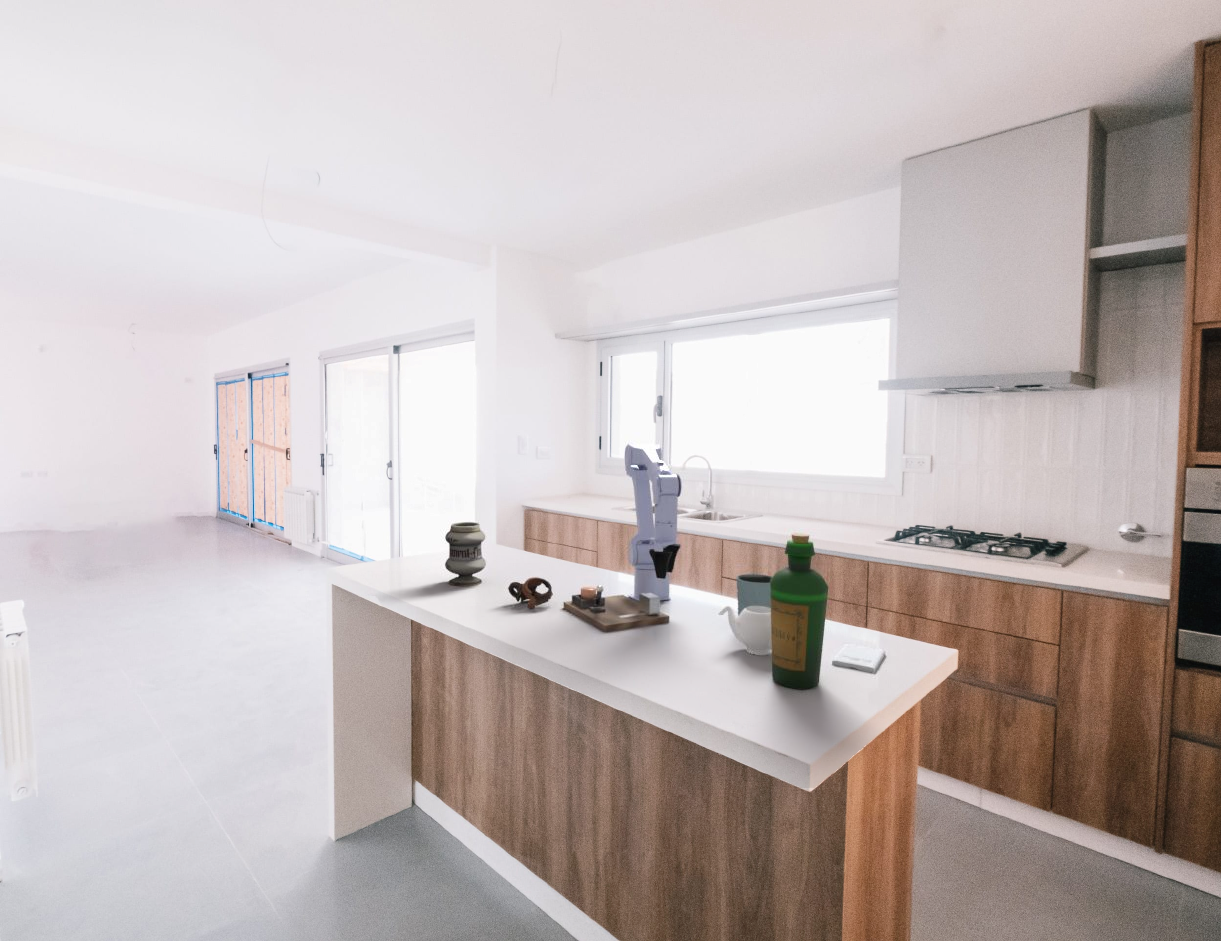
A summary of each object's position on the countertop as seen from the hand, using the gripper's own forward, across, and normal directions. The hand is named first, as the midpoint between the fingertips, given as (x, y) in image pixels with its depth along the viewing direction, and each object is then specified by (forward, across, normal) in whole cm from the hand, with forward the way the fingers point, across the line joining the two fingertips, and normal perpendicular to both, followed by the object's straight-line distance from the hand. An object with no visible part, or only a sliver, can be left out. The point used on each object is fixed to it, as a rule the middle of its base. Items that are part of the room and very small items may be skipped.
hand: (664, 575), depth 166 cm
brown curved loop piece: (+11, +3, -36) cm, 38 cm away
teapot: (+11, +20, +26) cm, 34 cm away
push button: (+7, +2, -20) cm, 21 cm away
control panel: (+10, +4, -12) cm, 16 cm away
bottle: (+11, +34, +34) cm, 49 cm away
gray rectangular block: (+9, +4, -3) cm, 10 cm away
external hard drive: (+11, +16, +46) cm, 50 cm away
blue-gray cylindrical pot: (+11, +1, +23) cm, 26 cm away
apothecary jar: (+11, -12, -65) cm, 67 cm away
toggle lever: (+7, +8, -15) cm, 19 cm away
